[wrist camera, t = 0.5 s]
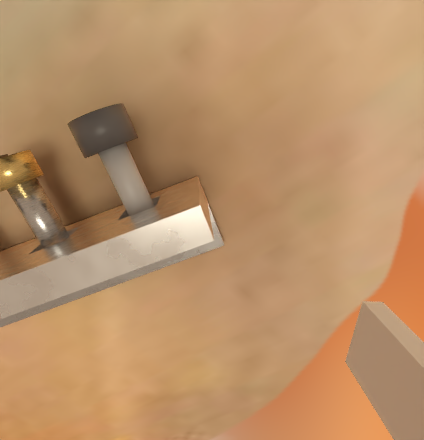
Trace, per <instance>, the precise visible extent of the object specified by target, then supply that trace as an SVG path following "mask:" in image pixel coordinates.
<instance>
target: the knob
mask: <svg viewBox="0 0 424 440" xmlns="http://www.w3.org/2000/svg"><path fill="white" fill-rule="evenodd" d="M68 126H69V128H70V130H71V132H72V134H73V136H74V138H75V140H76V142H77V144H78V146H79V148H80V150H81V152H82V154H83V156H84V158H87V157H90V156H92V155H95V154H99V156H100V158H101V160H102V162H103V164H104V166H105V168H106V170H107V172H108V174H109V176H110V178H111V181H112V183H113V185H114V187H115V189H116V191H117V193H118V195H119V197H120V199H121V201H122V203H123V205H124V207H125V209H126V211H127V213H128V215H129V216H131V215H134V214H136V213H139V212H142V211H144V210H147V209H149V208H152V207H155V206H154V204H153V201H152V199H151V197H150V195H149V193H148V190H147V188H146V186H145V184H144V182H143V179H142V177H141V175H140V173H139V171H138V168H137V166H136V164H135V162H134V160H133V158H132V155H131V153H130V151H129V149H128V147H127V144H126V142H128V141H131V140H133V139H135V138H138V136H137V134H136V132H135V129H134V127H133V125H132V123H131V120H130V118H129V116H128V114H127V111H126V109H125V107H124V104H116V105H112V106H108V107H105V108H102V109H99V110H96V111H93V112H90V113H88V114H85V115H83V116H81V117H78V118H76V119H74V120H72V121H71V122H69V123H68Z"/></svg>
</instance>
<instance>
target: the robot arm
mask: <svg viewBox="0 0 424 440" xmlns="http://www.w3.org/2000/svg"><path fill="white" fill-rule="evenodd" d="M345 362H346V363H347V365H348V367H349V368H350V370H351V372H352V373H353V375H354V376H355V378H356V379H357V381H358V383H359V384H360V386H361V388H362V389H363V391H364V393H365V394H366V396H367V397H368V399H369V400H370V402H371V404H372V405H373V407H374V408H375V410H376V412H377V413H378V415H379V417H380V418H381V420H382V421H383V423H384V425H385V426H386V428H387V429H388V431H389V433H390V434H391V436H392V438H393V439H394V440H424V342H423V341H421V339H420V338H419V337H418V336H417V335H416V334H415V333H414V332H413V331H412V330H411V329H409V327H408V326H407V325H406V324H404V323H403V322H402V321H401V320H400V319H399V318H398V317H397V316H396V315H395V314H394V313H393V312H392V311H391V310H390V309H389V308H388V307H387V306H386V305H385V304H384V303H383V302H366V301H363V302H362V305H361V309H360V313H359V316H358V319H357V323H356V327H355V330H354V334H353V337H352V340H351V344H350V347H349V351H348V354H347V358H346V361H345Z"/></svg>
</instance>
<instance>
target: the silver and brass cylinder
mask: <svg viewBox="0 0 424 440" xmlns="http://www.w3.org/2000/svg"><path fill="white" fill-rule="evenodd" d="M42 175H44V174H43V172H42V170H41V168H40V167H39V165H38V163H37V161H36V160H35V158H34V156H33V154H32V152H31V151H30V150H26V151H22V152H19V153H15V154H12V155H9V156H8V154H6V155H1V156H0V192H1V191H4V190H6V189H7V191H8V192H9V194H10V195H11V197H12V199H13V200H14V202H15V204H16V205H17V207H18V208H19V210H20V212H21V213H22V215H23V217H24V218H25V220H26V221H27V223H28V225H29V226H30V228H31V230H32V231H33V233H34V234H35V236H36V238H37V239H38V241H39V243H40V244H41V246H42V247H43V249H44V248H47V247H49V246H52V245H55V244H57V243H60V242H63V241H65V240H66V239H67V238H68V237H69V236H70V235H69V233H68V232H67V230H66V228H65V226H64V225H63V223H62V221H61V220H60V218H59V216H58V214H57V213H56V211H55V209H54V207H53V206H52V204H51V202H50V200H49V199H48V197H47V195H46V193H45V192H44V190H43V188H42V186H41V185H40V183H39V181H38V179H37V177H40V176H42Z"/></svg>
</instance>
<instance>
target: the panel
mask: <svg viewBox="0 0 424 440" xmlns="http://www.w3.org/2000/svg"><path fill="white" fill-rule="evenodd" d="M149 195H150V197H151V199H152V201H153V204H154V206H155V207H152V208H149V209H147V210H144V211H142V212H139V213H136V214H134V215H131V216H129V215H128V213H127V211H126V209H125V207H124V205H120V206H118V207H115V208H113V209H110V210H107V211H105V212H102V213H100V214H97V215H94V216H92V217H89V218H86V219H84V220H81V221H79V222H76V223H73V224H71V225H68V226H66V227H65V228H66V230H67V232H68V233H69V235H70V236H69V237H68V238H67V239H66V240H65V241H63V242H60V243H57V244H55V245H52V246H49V247H47V248H44V249H43V247H42V246H41V244H40V243H39V241H38V239H37V238H34V239H32V240H29V241H26V242H24V243H21V244H19V245H16V246H13V247H11V248H8V249H5V250H3V251H0V327H3V326H5V325H8V324H11V323H14V322H16V321H19V320H22V319H25V318H27V317H30V316H33V315H35V314H38V313H41V312H44V311H46V310H49V309H52V308H55V307H57V306H60V305H63V304H65V303H68V302H71V301H74V300H76V299H79V298H82V297H85V296H87V295H90V294H93V293H95V292H98V291H101V290H104V289H106V288H109V287H112V286H115V285H117V284H120V283H123V282H126V281H128V280H131V279H134V278H136V277H139V276H142V275H145V274H147V273H150V272H153V271H156V270H158V269H161V268H164V267H166V266H169V265H172V264H175V263H177V262H180V261H183V260H186V259H188V258H191V257H194V256H196V255H199V254H202V253H205V252H207V251H210V250H213V249H216V248H218V247H221V246H224V242H223V239H222V237H221V234H220V231H219V229H218V226H217V224H216V221H215V219H214V216H213V214H212V211H211V208H210V206H209V203H208V201H207V198H206V196H205V193H204V191H203V188H202V185H201V183H200V180H199V178H198V176H196V177H194V178H191V179H188V180H186V181H183V182H181V183H178V184H175V185H173V186H170V187H167V188H165V189H162V190H160V191H157V192H154V193H152V194H149Z"/></svg>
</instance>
